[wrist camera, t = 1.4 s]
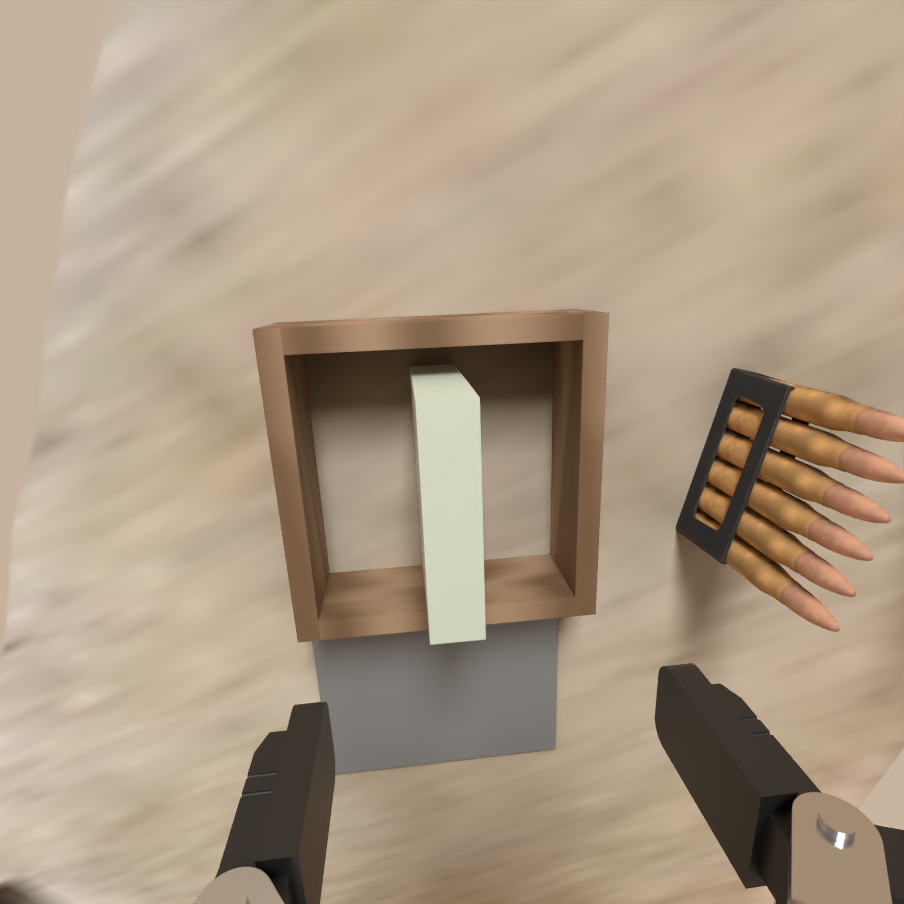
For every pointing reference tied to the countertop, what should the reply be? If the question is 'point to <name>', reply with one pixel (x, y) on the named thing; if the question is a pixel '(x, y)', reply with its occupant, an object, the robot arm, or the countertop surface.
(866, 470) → the ammunition clip
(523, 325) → the walnut box
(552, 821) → the countertop surface
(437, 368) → the pale green rectangular block
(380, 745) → the rubber mat
